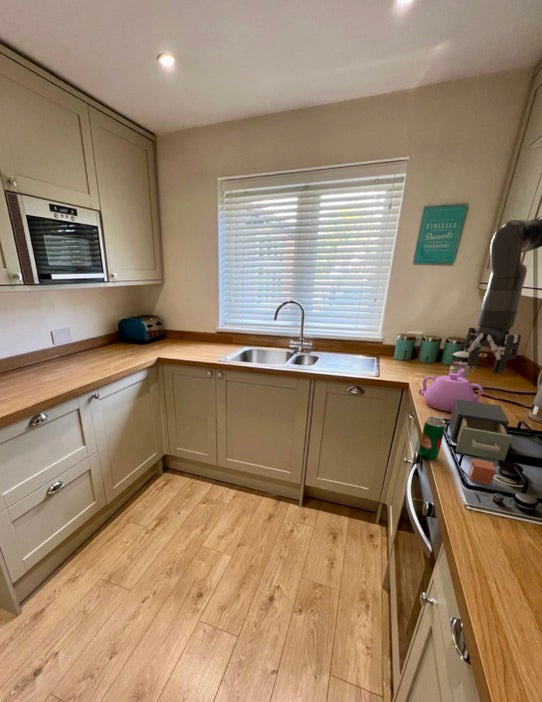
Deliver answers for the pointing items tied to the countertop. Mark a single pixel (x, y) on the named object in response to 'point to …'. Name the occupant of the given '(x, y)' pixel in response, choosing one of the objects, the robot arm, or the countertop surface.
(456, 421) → the cabinet
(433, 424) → the soda can
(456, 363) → the french press
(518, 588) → the countertop surface
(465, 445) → the drawer
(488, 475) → the block
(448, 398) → the teapot
